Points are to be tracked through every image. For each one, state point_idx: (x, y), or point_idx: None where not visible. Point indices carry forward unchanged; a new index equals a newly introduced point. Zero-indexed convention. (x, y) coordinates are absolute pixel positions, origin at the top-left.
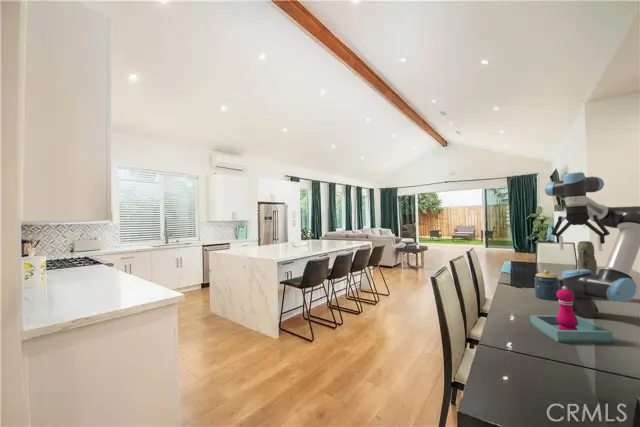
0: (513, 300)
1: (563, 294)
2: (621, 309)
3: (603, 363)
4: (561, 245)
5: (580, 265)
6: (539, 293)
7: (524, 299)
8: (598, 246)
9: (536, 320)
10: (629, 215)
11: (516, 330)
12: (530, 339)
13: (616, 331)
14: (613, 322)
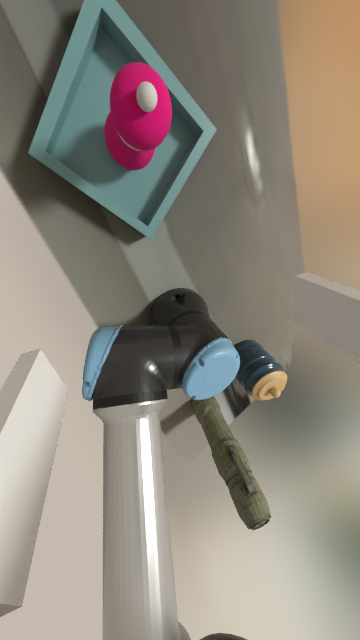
0: (280, 291)
1: (133, 63)
2: None
3: None
4: (332, 290)
5: (236, 448)
6: (256, 345)
7: (267, 314)
8: (20, 388)
9: (191, 101)
10: None
11: (208, 18)
12: None
13: (88, 261)
14: (122, 312)
